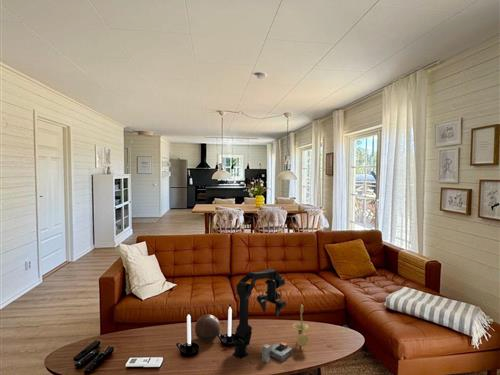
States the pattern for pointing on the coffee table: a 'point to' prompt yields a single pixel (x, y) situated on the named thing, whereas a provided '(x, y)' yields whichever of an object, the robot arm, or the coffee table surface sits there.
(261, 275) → the robot arm
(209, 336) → the wooden sphere
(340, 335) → the coffee table surface
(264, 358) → the wedge pin
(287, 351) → the rosette plate
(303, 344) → the wall sconce
